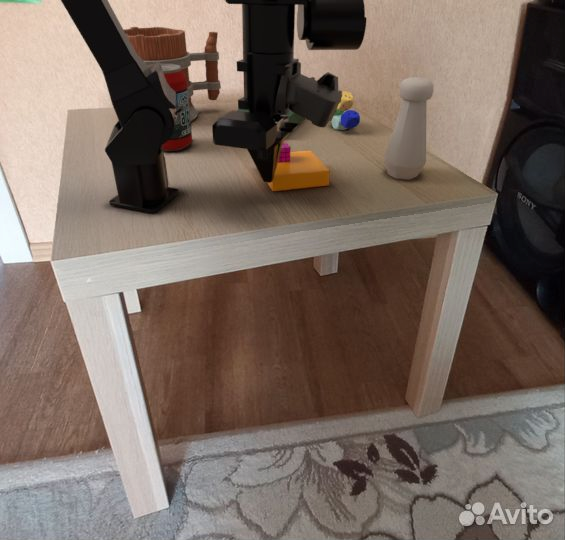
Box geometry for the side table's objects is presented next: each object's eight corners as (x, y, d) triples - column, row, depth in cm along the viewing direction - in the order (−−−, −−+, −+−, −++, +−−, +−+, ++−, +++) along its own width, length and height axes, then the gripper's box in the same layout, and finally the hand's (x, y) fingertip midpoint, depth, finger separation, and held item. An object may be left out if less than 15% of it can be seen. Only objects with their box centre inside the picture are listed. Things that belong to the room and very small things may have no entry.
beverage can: (180, 155, 73) (170, 73, 66) (142, 149, 75) (129, 69, 68) (200, 141, 78) (193, 64, 72) (164, 137, 80) (154, 61, 73)
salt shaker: (423, 183, 65) (442, 85, 58) (381, 180, 66) (395, 82, 59) (421, 168, 70) (439, 75, 62) (382, 165, 71) (395, 73, 63)
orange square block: (310, 164, 70) (311, 136, 68) (329, 185, 64) (331, 155, 62) (258, 169, 68) (257, 141, 66) (272, 191, 62) (272, 161, 60)
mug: (117, 112, 92) (101, 26, 84) (210, 102, 99) (205, 22, 91) (130, 132, 82) (114, 37, 73) (234, 120, 89) (230, 32, 80)
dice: (359, 134, 83) (363, 96, 79) (346, 135, 82) (350, 97, 78) (336, 121, 89) (339, 86, 85) (324, 123, 88) (326, 87, 84)
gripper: (314, 70, 43) (306, 222, 51) (356, 44, 58) (344, 166, 66) (205, 61, 46) (214, 206, 54) (271, 39, 61) (270, 156, 69)
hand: (268, 181), depth 61 cm, fingers closed
